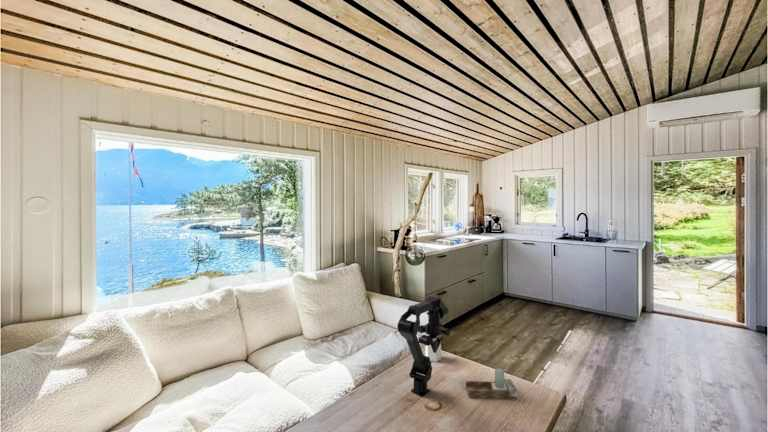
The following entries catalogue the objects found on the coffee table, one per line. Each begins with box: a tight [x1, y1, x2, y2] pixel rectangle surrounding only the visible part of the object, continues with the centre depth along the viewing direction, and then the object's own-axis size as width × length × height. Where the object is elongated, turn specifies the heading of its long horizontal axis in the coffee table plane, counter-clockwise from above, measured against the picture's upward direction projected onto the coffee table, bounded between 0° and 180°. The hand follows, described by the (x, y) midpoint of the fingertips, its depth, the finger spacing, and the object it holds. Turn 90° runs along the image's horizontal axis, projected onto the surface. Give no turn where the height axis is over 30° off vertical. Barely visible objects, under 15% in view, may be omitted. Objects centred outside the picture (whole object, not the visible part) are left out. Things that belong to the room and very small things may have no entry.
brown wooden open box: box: [465, 378, 518, 401], centre depth 147 cm, size 21×8×5 cm, turn 86°
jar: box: [424, 334, 442, 363], centre depth 182 cm, size 9×8×12 cm
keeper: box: [491, 367, 508, 391], centre depth 146 cm, size 6×5×9 cm
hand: (434, 352), depth 160 cm, fingers closed
